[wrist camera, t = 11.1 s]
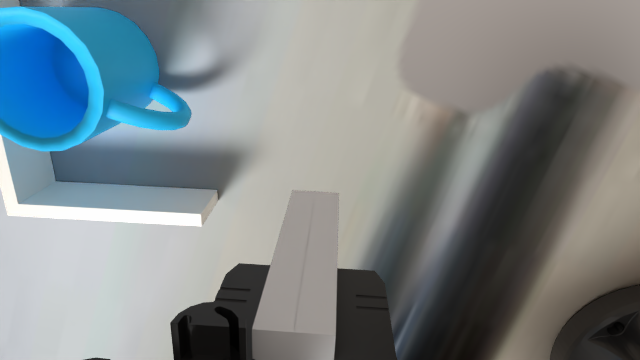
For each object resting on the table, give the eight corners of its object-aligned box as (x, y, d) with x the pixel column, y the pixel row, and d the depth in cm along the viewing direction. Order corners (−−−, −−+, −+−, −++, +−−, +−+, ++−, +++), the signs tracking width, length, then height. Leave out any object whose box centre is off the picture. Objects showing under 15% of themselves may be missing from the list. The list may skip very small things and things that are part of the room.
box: (203, -76, 28) (179, -91, 24) (217, 200, 36) (201, 226, 31) (-13, -85, 29) (-74, -100, 24) (46, 191, 36) (7, 215, 32)
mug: (42, 94, 33) (-47, 119, 25) (61, -13, 30) (-32, -21, 23) (190, 155, 34) (147, 196, 27) (222, 58, 31) (185, 74, 24)
